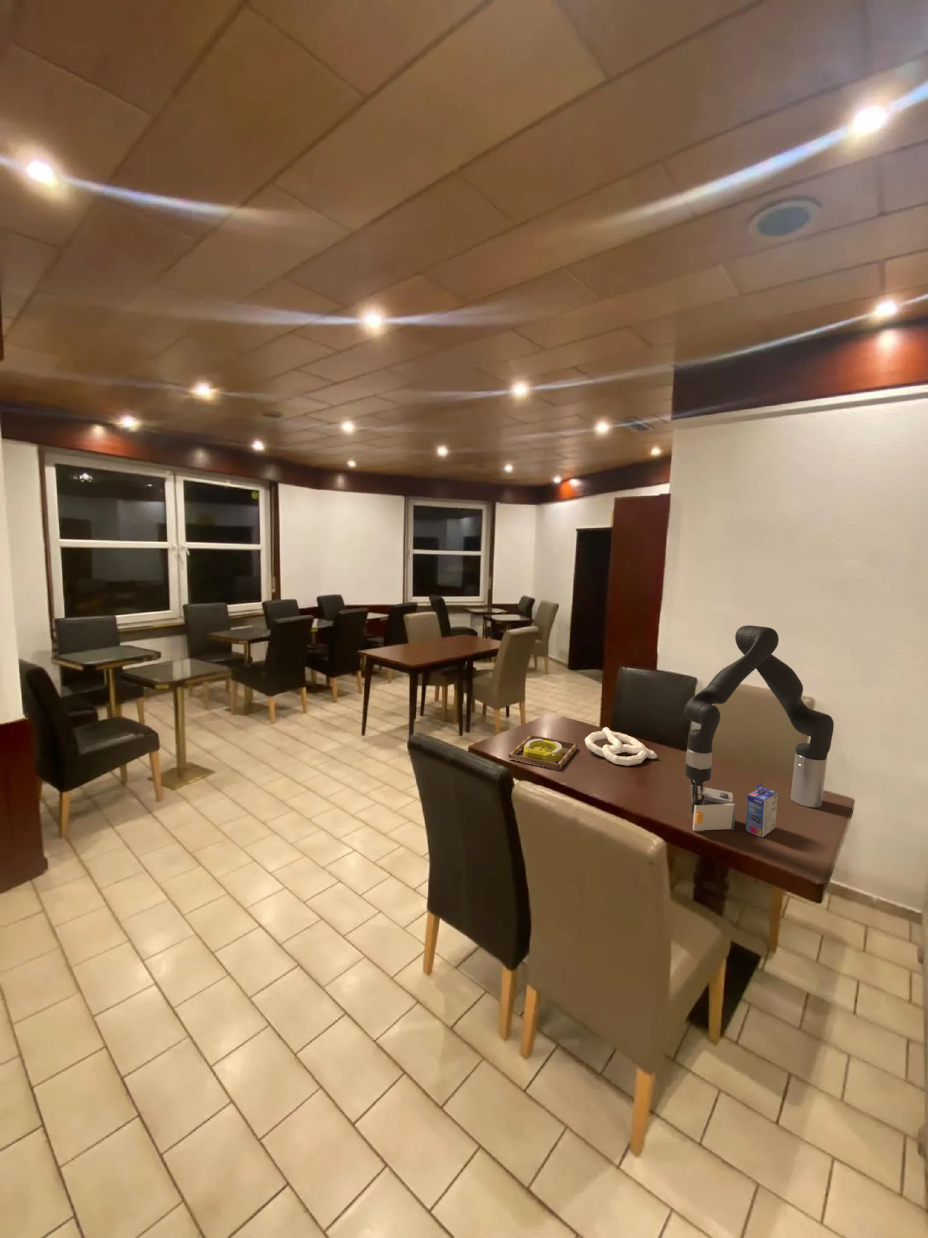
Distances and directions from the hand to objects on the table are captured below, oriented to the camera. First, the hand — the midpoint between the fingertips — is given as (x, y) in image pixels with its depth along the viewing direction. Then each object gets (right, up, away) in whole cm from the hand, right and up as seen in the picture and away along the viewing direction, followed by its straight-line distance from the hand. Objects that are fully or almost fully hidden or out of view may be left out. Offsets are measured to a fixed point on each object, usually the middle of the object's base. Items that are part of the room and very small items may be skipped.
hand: (695, 814), depth 164 cm
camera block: (+8, -3, +3) cm, 9 cm away
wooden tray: (-40, +4, +57) cm, 70 cm away
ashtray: (-41, +3, +55) cm, 69 cm away
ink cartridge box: (+20, -4, -2) cm, 20 cm away
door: (+4, -4, -4) cm, 7 cm away
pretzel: (-7, +4, +59) cm, 59 cm away
